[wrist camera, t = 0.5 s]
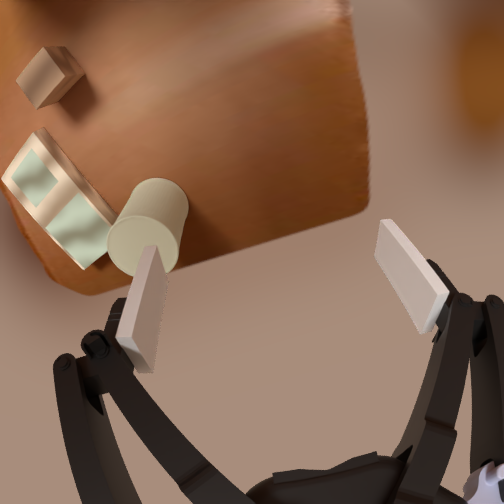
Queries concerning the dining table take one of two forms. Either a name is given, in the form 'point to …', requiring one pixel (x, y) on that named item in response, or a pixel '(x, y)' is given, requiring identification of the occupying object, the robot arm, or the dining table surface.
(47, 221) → the board
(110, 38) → the dining table surface
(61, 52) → the cube
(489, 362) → the robot arm
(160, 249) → the can
